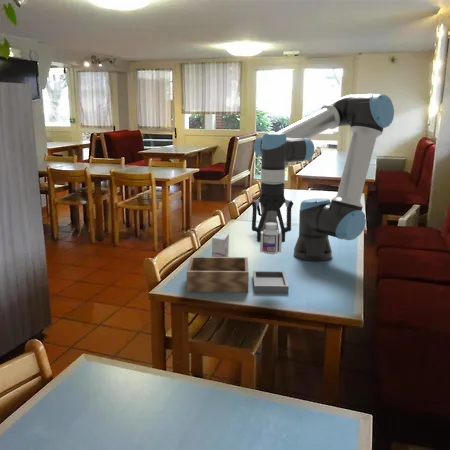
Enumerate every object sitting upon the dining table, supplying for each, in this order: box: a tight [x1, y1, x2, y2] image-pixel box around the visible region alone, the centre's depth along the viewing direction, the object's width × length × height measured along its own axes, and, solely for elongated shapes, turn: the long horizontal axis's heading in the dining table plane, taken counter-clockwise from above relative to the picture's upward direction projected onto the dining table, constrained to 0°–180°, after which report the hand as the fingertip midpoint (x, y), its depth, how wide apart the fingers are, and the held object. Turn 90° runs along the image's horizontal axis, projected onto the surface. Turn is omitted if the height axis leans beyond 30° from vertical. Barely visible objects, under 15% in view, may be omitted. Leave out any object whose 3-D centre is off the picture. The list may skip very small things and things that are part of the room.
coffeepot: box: [257, 203, 280, 231], centre depth 217 cm, size 15×9×18 cm, turn 44°
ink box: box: [211, 232, 230, 257], centre depth 173 cm, size 9×5×12 cm, turn 168°
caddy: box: [186, 256, 250, 294], centre depth 156 cm, size 20×15×7 cm
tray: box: [252, 270, 290, 294], centre depth 156 cm, size 11×14×2 cm
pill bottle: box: [262, 222, 280, 255], centre depth 152 cm, size 5×5×10 cm
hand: (270, 251), depth 153 cm, fingers closed on pill bottle, 5 cm apart
